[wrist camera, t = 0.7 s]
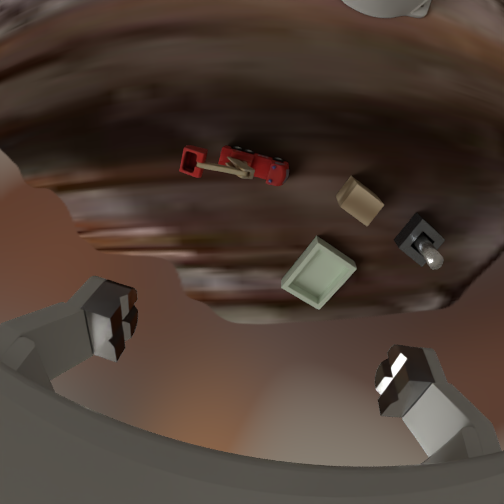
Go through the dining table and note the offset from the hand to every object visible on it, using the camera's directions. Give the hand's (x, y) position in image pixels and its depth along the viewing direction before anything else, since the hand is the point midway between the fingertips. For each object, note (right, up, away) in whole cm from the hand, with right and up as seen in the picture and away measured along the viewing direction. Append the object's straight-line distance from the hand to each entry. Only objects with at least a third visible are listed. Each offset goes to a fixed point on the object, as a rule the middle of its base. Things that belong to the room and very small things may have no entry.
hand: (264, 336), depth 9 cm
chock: (+15, +11, +36) cm, 41 cm away
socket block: (+27, +5, +38) cm, 47 cm away
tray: (+11, -1, +43) cm, 44 cm away
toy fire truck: (-2, +16, +36) cm, 40 cm away
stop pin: (+27, +5, +38) cm, 47 cm away
